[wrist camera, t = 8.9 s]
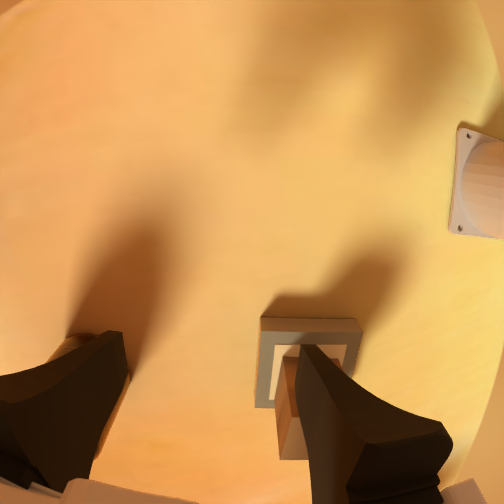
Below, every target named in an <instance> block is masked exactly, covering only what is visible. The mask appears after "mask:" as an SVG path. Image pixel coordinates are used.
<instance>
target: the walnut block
mask: <svg viewBox="0 0 504 504" xmlns="http://www.w3.org/2000/svg"><path fill="white" fill-rule="evenodd" d="M298 358H299V357H287V356H282V361H281V366H280V372H279V377H278V382H277V387H276V392H275V397H274V403H275V413H276V424H277V434H278V445H279V456H280V460H309V459H308V452H307V447H306V442H305V438H304V434H303V430H302V426H301V422H300V418H299V414H298V409H297V405H296V396H295V385H294V383H295V377H296V371H297V365H298ZM330 360H331V361H332V362H333V363H334V364H336V365H337V366H338V367H339V368H340V369H341V370H342V371H343V369H342V366H341V364H340V361H339V359H338V358H330ZM343 372H344V371H343Z"/></svg>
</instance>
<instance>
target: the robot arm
mask: <svg viewBox="0 0 504 504" xmlns="http://www.w3.org/2000/svg"><path fill="white" fill-rule="evenodd" d="M467 133H468V135H469V138H468V137H467ZM459 225H460V229H459V230H458V226H459ZM448 230H449V232H450V233H452V234H457V235H466V236H475V237H484V238H493V239H501V240H504V141H502V140H499V139H497V138H494V137H491V136H488V135H485V134H482V133H479V132H476V131H473V130H470V129H467V128H459V129H458V130H457V145H456V162H455V175H454V185H453V195H452V203H451V211H450V218H449V225H448ZM127 375H128V367H127V361H126V355H125V349H124V342H123V336H122V332H117V331H107V332H104V333H102V334H101V335H99V336H97V337H95V338H94V339H92V340H90V341H88V342H87V343H85V344H83V345H81V346H80V347H78V348H76V349H74V350H72V351H70V352H69V353H67V354H65V355H63V356H61V357H59V358H57V359H55V360H52V361H50V362H48V363H45V364H43V365H40V366H37V367H35V368H31V369H28V370H24V371H21V372H17V373H13V374H8V375H2V376H0V504H199V503H197V502H193V501H188V500H184V499H180V498H175V497H168V496H162V495H156V494H150V493H145V492H140V491H135V490H130V489H126V488H121V487H117V486H113V485H109V484H105V483H102V482H98V481H94V480H89V475H90V470H91V467H92V463H93V459H94V455H95V452H96V449H97V446H98V443H99V439H100V436H101V434H102V432H103V429H104V427H105V425H106V423H107V421H108V419H109V417H110V415H111V413H112V411H113V409H114V407H115V405H116V403H117V401H118V399H119V397H120V395H121V393H122V390H123V387H124V384H125V381H126V378H127ZM294 385H295V396H296V405H297V409H298V414H299V418H300V422H301V426H302V430H303V434H304V438H305V442H306V447H307V452H308V459H309V468H310V478H311V490H312V504H487V502H486V501H485V499H484V497H483V495H482V493H481V491H480V490H479V488H478V486H477V484H476V482H475V481H474V479H468V480H466V481H463V482H460V483H458V484H455V485H452V486H449V487H447V488H445V489H444V490H442V491H441V492H440V491H439V489H438V487H437V485H439V483H440V479H439V477H438V475H437V473H438V472H439V470H440V469H441V467H442V466H443V464H444V463H445V462H446V460H447V459H448V457H449V455H450V453H451V451H452V448H453V441H452V439H451V437H450V435H449V434H448V432H447V431H446V429H445V427H444V426H443V424H442V423H441V422H439V421H435V420H432V419H428V418H424V417H421V416H417V415H415V414H412V413H409V412H407V411H404V410H402V409H399V408H397V407H395V406H393V405H391V404H389V403H387V402H385V401H383V400H381V399H380V398H378V397H376V396H375V395H373V394H372V393H370V392H368V391H367V390H365V389H364V388H363V387H361V386H360V385H359V384H357V383H356V382H355V381H354V380H352V379H351V378H350V377H349V376H347V375H346V374H345V373H344V372H343V371H342V370H341V369H340V368H339V367H338V366H337V365H336V364H334V363H333V362H332V361H331V360H330V358H329V357H328V356H327V355H326V354H325V353H324V352H323V351H322V350H321V349H320V348H319V347H318V346H317V345H316V344H301V345H300V351H299V358H298V365H297V371H296V377H295V383H294Z"/></svg>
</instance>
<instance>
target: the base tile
mask: <svg viewBox="0 0 504 504" xmlns="http://www.w3.org/2000/svg"><path fill="white" fill-rule="evenodd" d="M362 333H363V331H362V330H361V328H360V327H359V325H358V323H357V322H356V320H355V319H316V318H275V317H260V325H259V338H258V352H257V365H256V378H255V390H254V397H255V408H275V403H274V397H275V392H276V387H277V382H278V377H279V372H280V366H281V361H282V356H287V357H299V351H300V345H301V344H316V345H317V346H318V347H319V348H320V349H321V350H322V351H323V352H324V353H325V354H326V355H327V356H328V357H329V358H338V359H339V361H340V364H341V366H342V369H343V371H344V373H345V374H346V375H347V376H349V377H350V378H351V377H352V374H353V370H354V366H355V362H356V358H357V354H358V350H359V346H360V342H361V337H362Z"/></svg>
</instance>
